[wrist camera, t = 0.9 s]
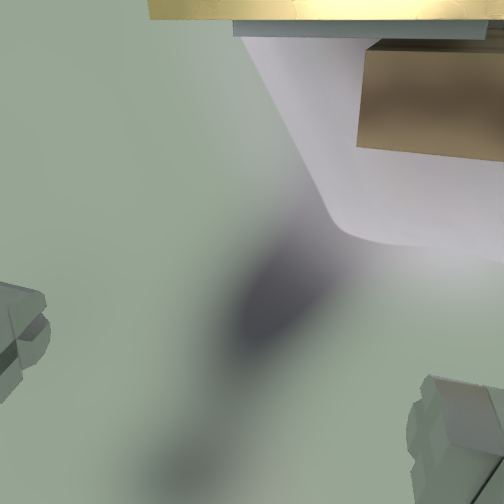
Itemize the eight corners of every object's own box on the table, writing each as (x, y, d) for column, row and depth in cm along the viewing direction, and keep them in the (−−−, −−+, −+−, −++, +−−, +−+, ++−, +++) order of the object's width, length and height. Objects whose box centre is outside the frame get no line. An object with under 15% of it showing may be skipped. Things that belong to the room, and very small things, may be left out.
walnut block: (396, 28, 42) (365, 50, 31) (636, 29, 36) (712, 58, 24) (386, 102, 46) (356, 146, 34) (602, 116, 39) (654, 177, 28)
